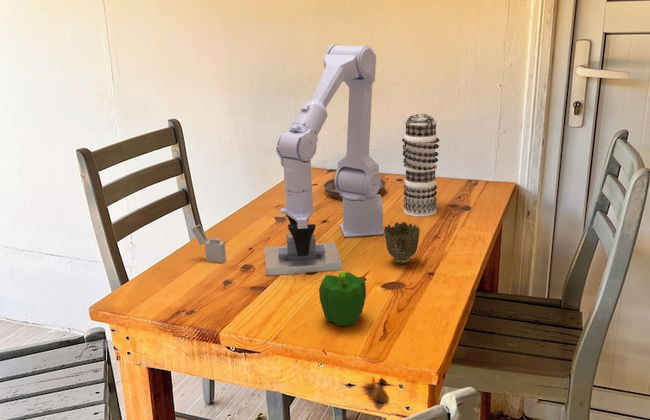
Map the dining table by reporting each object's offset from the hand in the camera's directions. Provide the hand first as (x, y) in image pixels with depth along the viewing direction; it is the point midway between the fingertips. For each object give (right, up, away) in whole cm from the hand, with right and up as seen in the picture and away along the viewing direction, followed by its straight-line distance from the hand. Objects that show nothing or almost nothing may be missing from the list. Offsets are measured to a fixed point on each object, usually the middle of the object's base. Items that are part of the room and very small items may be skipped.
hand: (301, 248), depth 147 cm
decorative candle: (+30, +8, +30) cm, 43 cm away
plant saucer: (+14, +13, +47) cm, 51 cm away
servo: (0, -3, +1) cm, 3 cm away
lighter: (-20, -3, +4) cm, 21 cm away
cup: (+22, -3, -2) cm, 22 cm away
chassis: (0, -3, +1) cm, 3 cm away
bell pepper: (+8, -12, -25) cm, 29 cm away
